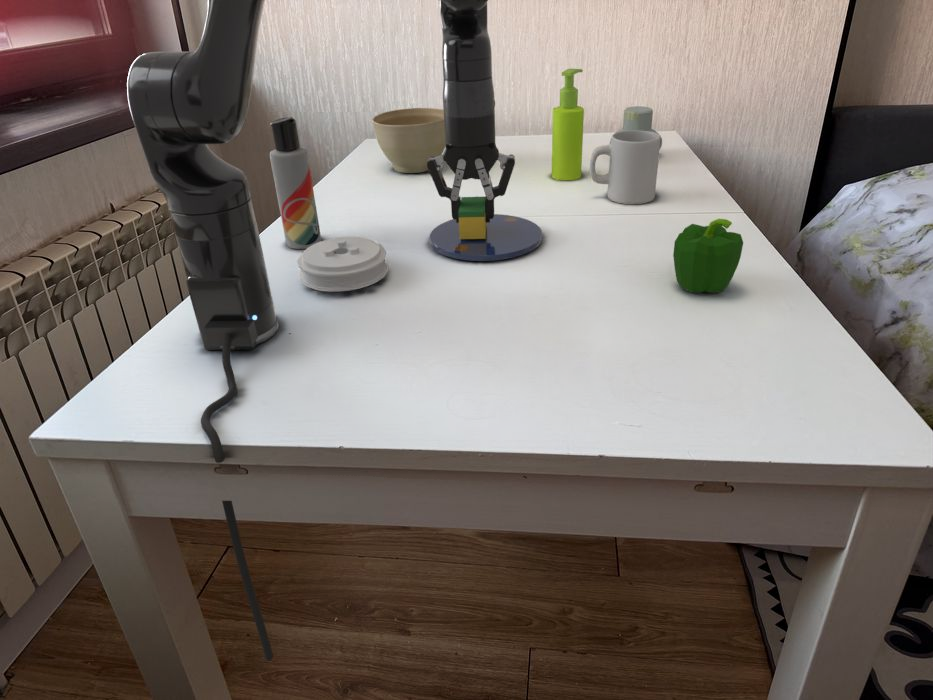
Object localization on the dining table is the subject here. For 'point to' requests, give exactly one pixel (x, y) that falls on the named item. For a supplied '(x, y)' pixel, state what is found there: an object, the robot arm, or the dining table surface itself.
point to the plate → (488, 239)
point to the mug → (629, 166)
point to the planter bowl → (410, 137)
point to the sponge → (472, 218)
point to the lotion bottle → (294, 186)
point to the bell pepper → (707, 256)
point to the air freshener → (638, 120)
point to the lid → (342, 264)
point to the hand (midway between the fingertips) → (473, 220)
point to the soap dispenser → (567, 132)
